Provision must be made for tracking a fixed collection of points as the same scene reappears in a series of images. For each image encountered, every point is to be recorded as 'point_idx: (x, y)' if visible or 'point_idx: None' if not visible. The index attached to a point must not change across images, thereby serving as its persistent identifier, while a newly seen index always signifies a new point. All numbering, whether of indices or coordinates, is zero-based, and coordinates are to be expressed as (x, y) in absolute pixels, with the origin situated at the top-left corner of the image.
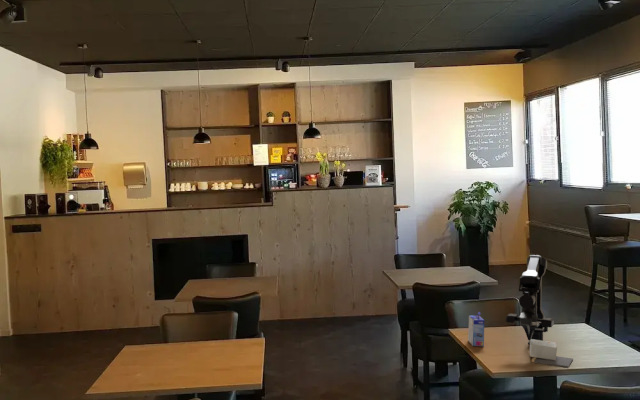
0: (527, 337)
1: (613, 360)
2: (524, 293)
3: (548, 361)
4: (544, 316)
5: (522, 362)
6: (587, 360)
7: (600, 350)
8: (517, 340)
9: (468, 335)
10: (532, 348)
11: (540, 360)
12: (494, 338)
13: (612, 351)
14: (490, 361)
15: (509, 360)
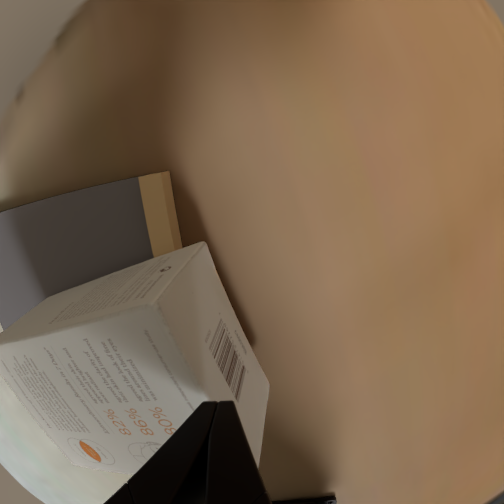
0: (235, 426)
1: None
2: None
3: (63, 245)
4: None
5: (236, 108)
6: (7, 393)
7: (75, 498)
8: (388, 500)
9: None
10: (152, 279)
11: (112, 232)
12: (479, 461)
13: (52, 492)
14: (455, 9)
15: (360, 99)
